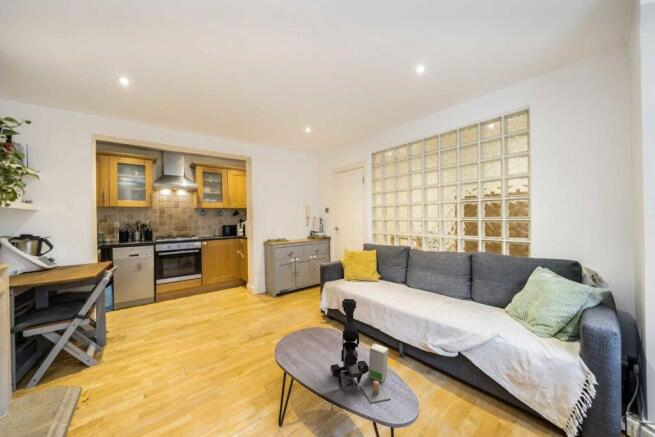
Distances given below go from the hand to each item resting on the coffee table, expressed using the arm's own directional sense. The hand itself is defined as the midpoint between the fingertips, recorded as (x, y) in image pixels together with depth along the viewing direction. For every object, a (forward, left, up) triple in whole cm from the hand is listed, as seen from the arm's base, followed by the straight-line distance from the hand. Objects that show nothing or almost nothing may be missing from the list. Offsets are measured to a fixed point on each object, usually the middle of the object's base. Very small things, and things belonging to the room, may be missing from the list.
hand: (349, 385), depth 124 cm
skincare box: (-4, +18, -1) cm, 19 cm away
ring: (0, 0, -1) cm, 1 cm away
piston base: (+8, +11, -1) cm, 13 cm away
